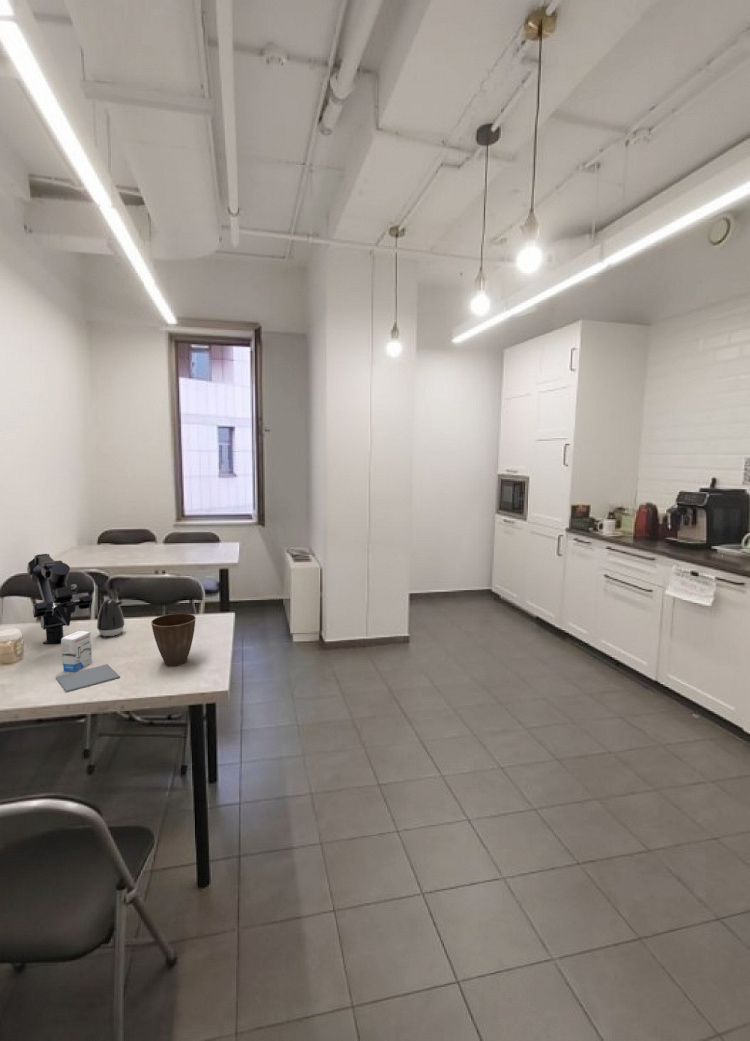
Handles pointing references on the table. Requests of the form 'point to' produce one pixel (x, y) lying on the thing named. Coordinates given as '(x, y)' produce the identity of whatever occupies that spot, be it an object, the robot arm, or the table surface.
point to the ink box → (76, 651)
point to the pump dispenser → (110, 618)
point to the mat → (87, 677)
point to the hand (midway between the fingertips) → (68, 625)
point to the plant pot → (174, 637)
